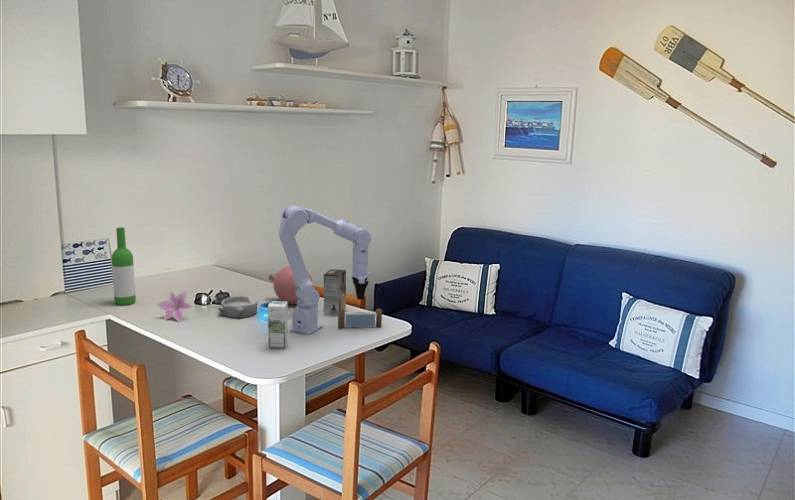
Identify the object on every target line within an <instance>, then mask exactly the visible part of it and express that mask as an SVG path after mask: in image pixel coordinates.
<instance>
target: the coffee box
mask: <svg viewBox="0 0 795 500" xmlns="http://www.w3.org/2000/svg"><path fill="white" fill-rule="evenodd" d="M339 309H344V310H345V311H346V310H347V270H346V269H337V268H336V269H331V268H330V269H329V270H328V271H326V272H325V273H324V274H323V315H324V316H333V317H338V310H339Z"/></svg>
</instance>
